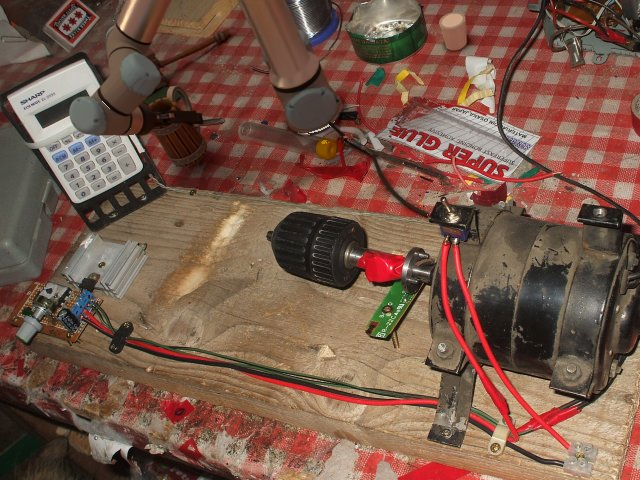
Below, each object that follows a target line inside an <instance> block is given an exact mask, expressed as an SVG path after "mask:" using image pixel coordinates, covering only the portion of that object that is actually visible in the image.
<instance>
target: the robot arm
mask: <svg viewBox="0 0 640 480" xmlns="http://www.w3.org/2000/svg"><path fill="white" fill-rule="evenodd" d="M124 1H125V2H124V3H123V5H122V8H121V10H120V13H119V15H118V18H117V20H116V23H115V24H113V25H111V27H109V28H108V29H107V32H106V35H105V41H104V44H105V51H106V56H107V65H108V74H109V75H108V77H107V78H106V80H105V81H103V83H102V84H101V85H100V86H99V87H98V88H97V89H96V90H95V92H93V94H92V95H87V96H86V95H85V96H79V97H77V98H75V99H74V100H72V102H71V103H70V106H69V111H68V116H69V120H70V122H71V124H72V126H73V127H74V129H76V131H78V132H80V133H81V134H83V135H89V136H94V137H100V136H117V137H129V136H128V135H134V134H135V135H137V136H136V137H139V136H140V137H143V136H146V135H147V134H149V133H151V132H152V131H151V130H152V128H153V127H159V126H166V125H169V124H171V123H188V124H189V125H190V126H193V124H199V125H200V126H201V125H204V118H203V113H201V112H197V110H193V111H185V110H183V111H177V110H170V109H169V110H166V111H165V110H161V111H157V110H151V109H150V108H149V105H147V104H145V103H143V101H144V100H145V99H146V98H147V97H148V96H149V95H150V94H152V92H153V91H154V89H155V88H156V87H157V85H158V84H159V83H160V81H161V75H160V72H161V71H160V72H159V71H158V70H157V67H156V66H155V65H154V64H153V63H152V62H151V61H150V60H149V59H148V58H146V54H147V52H148V50H149V49H150V48H151V46H152V43H153V40H154V39H155V36H156V34H157V32H158V30H159V28H160V26H161V23H162V22H163V20H164V17H165V15H166V13H167V11H168V9H169V7H170V4H171V2H172V0H124ZM236 2H237V3H238V5H239V7H240V10H241V12H242V13H243V15H244V17H245V19H246V21H247V23H248V25H249V27H250V29H251V31H252V33H253V35H254V37H255V39H256V41H257V43H258V45H259V47H260V49H261V56H262V59H263V62H264V63H265V64H266V67H267V69H268V71H269V73H268V80H269V82H270V84H271V86H272V88H273V90H274V92H275V94H276V95H277V97H278V100H279V101H280V104H281V106H282V108H283V110H284V116H285V121H286V124H287V126H288V128H289V129H290V130H291V132H292V133H294V132H295V133H294V134H296V133H298V132H299V133H308V134H310V135H311V136H315V135H316V136H317V135H319V134H322V133H324V132H326V131H328V130H330V129H331V128H332V130H333V131H335V132H336V133H337V134H338V135H339V136H340V137H341V138H343V136H345V135H346V134H345V132H343V131H342V130H341V129H339V127H337V125H336V124H337V123H338V122H339V121H340V119H341V118H342V117H343V113H344V104H343V101H342V99H341V97H340V95H339V94H338V93H337V92H336V91H335V90H334V88H333V87H332V86H331V85H330V83H329V81H328V79H327V76H326V74H325V71H324V70H323V67H322V64H321V62H320V60H319V58H318V56H317V55H316V53H315V51H314V48H313V46H312V42H311V39H310V38H309V36H308V34H307V33H306V32H305V31H304V30H302V29H299V28H298V26H297V24H296V22H295V19H294V17H293V15H292V13H291V10H290V8H289V5H288V3H287V2H286V0H236ZM102 101H103V102H104V103H105V104H106V105H107V106H108V107H109V108H110V109H109V108H108V107H107V106H106V105H105V104H104V103H103V102H102ZM339 112H341V114H340V116H339V117H338V114H339ZM337 117H338V118H337ZM162 121H163V123H162ZM334 121H335V122H334ZM333 122H334V123H333ZM328 124H329V125H330V126H331V127H330V126H329V127H327V128H325V129H323V130H321V131H318V132H314V133H309V132H312V131H315V130H318V129H321V128H323V127H325V126H327V125H328ZM130 128H131V129H130ZM360 150H361V151H363V152H365V153H366V154H367V155H368V156H369V157H370V159H371V160H372V162H373V165H374V167H375V169H376V173H377V174H378V176H379V178H380V180H381V181H382V183H383V185H384V187H386V189H387V190H388V192H389V193H391V195H392V196H393V197H394V198H395V199H397V200H398V202H400V203H401V204H403V205H404V206H405V207H407V208H408V209H410V210H411V211H414V212H415V213H418V214H419V215H422V216H424V217H426V218H428V216H429V214H430V213H429V212H427V211H425V210H423V209H421V208H419V207H417V206H415V205H413V204H411V203H410V202H409V201H407V200H405V198H403V196H401V195H400V194H398V193H397V191H396V190H395V189H394V188H393V187H392V185H390V182H388V180H387V179H386V177H385V175H384V173H383V172H382V170H381V167H380V164H379V161H378V159H377V156H376V155H375V154H374V153H373V152H372V154H373V155H374V156H373V155H370V154H369V153H368V152H367V151H366V150H362V149H360ZM427 214H428V216H427Z"/></svg>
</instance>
